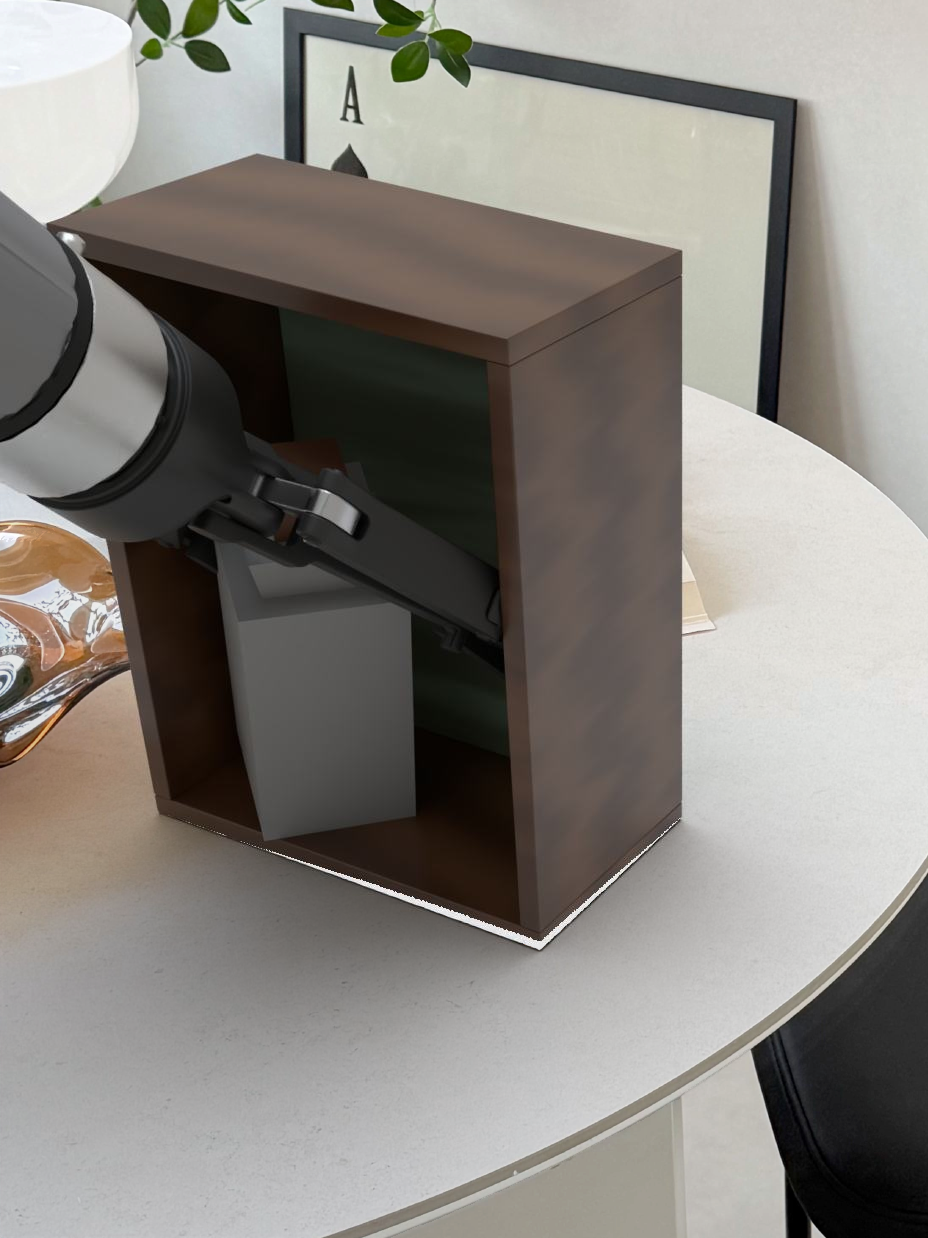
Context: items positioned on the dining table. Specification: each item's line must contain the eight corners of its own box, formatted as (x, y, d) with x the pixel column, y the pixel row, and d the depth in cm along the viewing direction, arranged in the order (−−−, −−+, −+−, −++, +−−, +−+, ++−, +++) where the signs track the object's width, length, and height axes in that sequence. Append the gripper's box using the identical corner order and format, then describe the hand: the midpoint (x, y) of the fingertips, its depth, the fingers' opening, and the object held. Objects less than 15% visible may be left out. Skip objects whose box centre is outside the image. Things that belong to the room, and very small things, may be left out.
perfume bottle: (415, 815, 90) (408, 515, 76) (264, 841, 87) (227, 535, 74) (383, 711, 93) (370, 405, 80) (237, 732, 91) (197, 421, 77)
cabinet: (540, 952, 84) (507, 338, 68) (157, 812, 90) (45, 222, 75) (682, 818, 93) (683, 249, 77) (324, 700, 99) (256, 152, 83)
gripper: (421, 372, 62) (672, 607, 82) (-142, 227, 69) (218, 476, 90) (333, 590, 61) (609, 772, 82) (-227, 420, 68) (156, 626, 89)
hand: (404, 617), depth 86 cm, fingers open, 12 cm apart
